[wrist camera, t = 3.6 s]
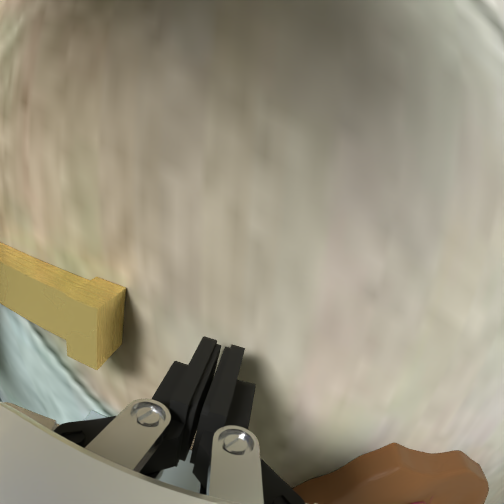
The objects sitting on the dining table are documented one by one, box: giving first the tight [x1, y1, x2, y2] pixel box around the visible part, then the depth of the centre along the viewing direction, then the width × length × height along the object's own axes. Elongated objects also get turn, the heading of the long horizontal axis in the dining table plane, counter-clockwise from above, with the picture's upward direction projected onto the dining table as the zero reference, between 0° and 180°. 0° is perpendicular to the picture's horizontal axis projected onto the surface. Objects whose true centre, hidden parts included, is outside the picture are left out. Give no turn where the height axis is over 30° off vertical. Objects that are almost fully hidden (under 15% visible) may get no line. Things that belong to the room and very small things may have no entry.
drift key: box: [0, 242, 126, 370], centre depth 12 cm, size 12×3×2 cm, turn 76°
